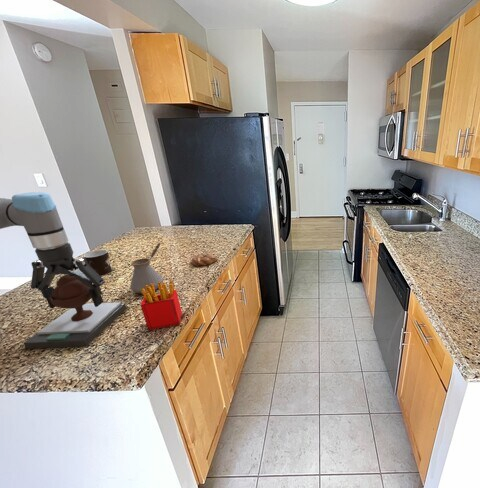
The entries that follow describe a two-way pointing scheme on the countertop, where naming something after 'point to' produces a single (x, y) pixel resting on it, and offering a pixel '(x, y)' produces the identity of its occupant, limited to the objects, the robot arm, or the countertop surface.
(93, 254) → the coffee mug
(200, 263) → the pretzel
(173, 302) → the french fries container
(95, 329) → the scale
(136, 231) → the countertop surface
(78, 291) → the ice cream bowl
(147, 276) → the coffee pot
